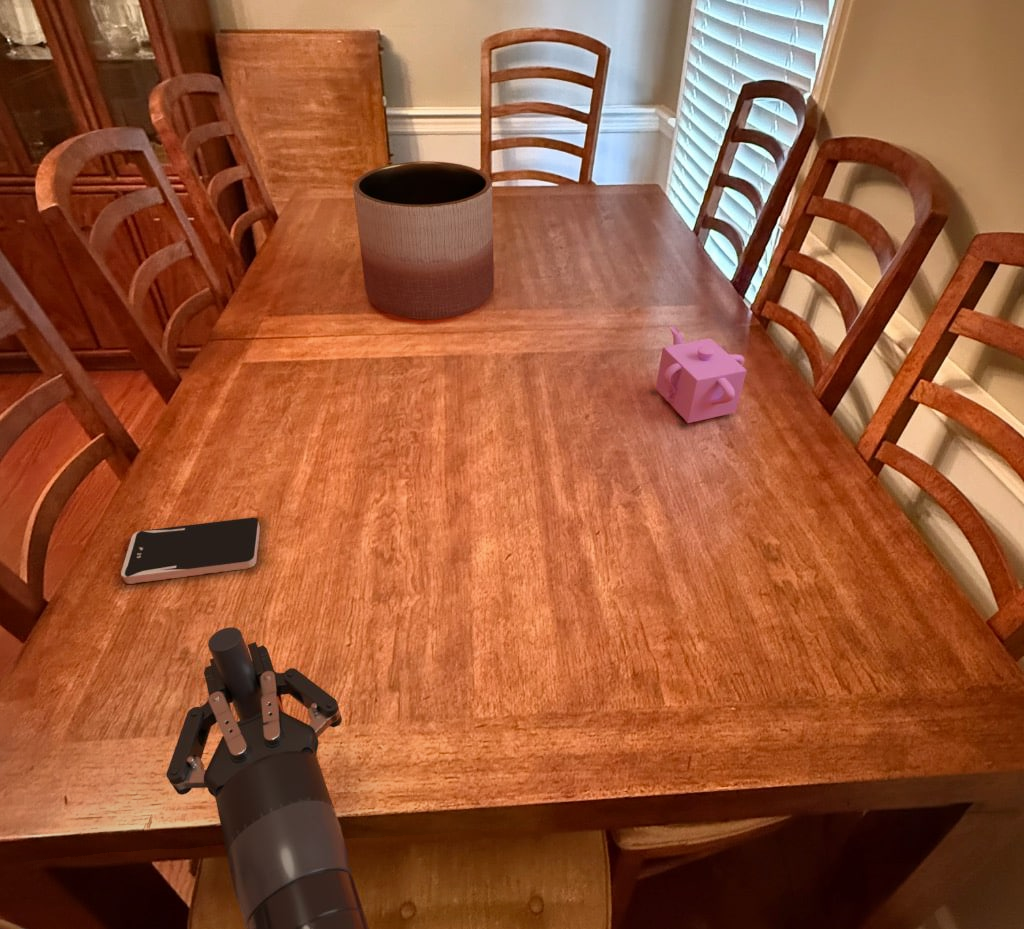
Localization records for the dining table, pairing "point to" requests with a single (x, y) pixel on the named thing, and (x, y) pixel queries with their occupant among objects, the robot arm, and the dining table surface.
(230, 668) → the dark grey cylinder
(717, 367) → the teapot
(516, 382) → the dining table surface
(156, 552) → the smartphone
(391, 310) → the planter
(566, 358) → the dining table surface
